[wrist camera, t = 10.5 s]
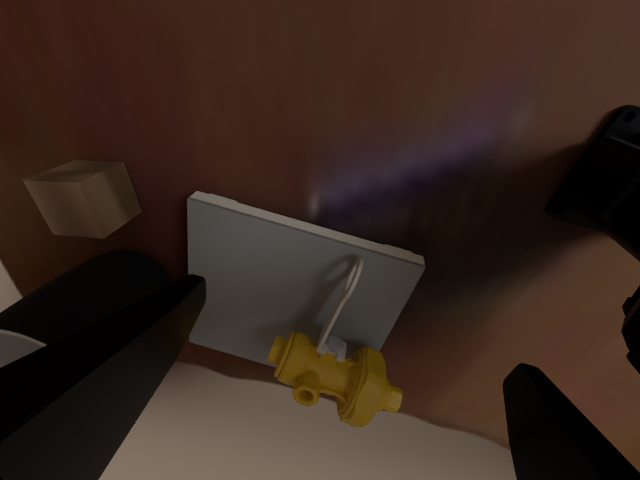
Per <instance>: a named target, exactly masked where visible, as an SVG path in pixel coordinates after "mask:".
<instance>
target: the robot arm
mask: <svg viewBox="0 0 640 480" xmlns="http://www.w3.org/2000/svg"><path fill="white" fill-rule="evenodd" d="M629 112H630V116H629V117H628V118H627V119H626V120H623V118H624V116H625V115H626V114H627V113H629ZM556 207H559V209H558V210H556V211H553V210H554V208H556ZM545 211H546V212H547V214H548V215H549V216H551V217H553V218H556V219H560V220H563V221H567V222H570V223H574V224H577V225H581V226H584V227H588V228H591V229H595V230H598V231H602V232H605V233H606V234H607V235H609V236H610V237H611V238H612V239H613V240H614V241H616V242H617V243H618V244H619V245H620V246H622V247H623V248H624V249H625V250H626V251H628V252H629V253H630V254H631V255H632V256H634V257H635V258H636V259H637V260H638V261H639V262H640V107H637V106H633V105H626V106H623V107H621V108H619V109H618V110H617V111H616V112H615V113H614V115H613V116H612V117H611V119H610V120H609V121H608V123H607V124H606V125H605V127H604V128H603V130H602V131H601V132H600V134H599V135H598V136H597V138H596V139H595V140H594V142H593V143H591V144H590V145H589V146H588V148H587V149H586V150H585V152H584V153H583V154H582V156H581V157H580V159H579V160H578V161H577V163H576V164H575V165H574V167H573V168H572V169H571V171H570V172H569V174H568V175H567V176H566V178H565V179H564V180H563V182H562V184H561V187H560V188H559V189H558V191H557V192H556V193H555V195H554V196H553V197H552V199H551V200H550V202H549V203H548V204H547V206H546V208H545ZM205 302H206V279H205V278H204V277H203V276H199V275H195V274H189V275H187V276H185V277H183V278H181V279H179V280H177V281H175V282H173V283H171V284H169V285H167V286H165V287H163V288H161V289H159V290H157V291H155V292H153V293H151V294H149V295H147V296H145V297H143V298H141V299H139V300H137V301H135V302H133V303H131V304H129V305H127V306H125V307H123V308H121V309H119V310H117V311H114V312H112V313H110V314H108V315H106V316H104V317H102V318H100V319H98V320H96V321H94V322H92V323H90V324H88V325H86V326H84V327H82V328H80V329H78V330H76V331H74V332H72V333H70V334H68V335H66V336H64V337H62V338H60V339H58V340H56V341H54V342H53V343H52V345H51V344H48V345H46V346H44V347H42V348H40V349H38V350H36V351H34V352H32V353H30V354H28V355H26V356H24V357H21V358H19V359H17V360H15V361H13V362H11V363H9V364H7V365H5V366H3V367H1V368H0V480H98V479H99V478H100V476H101V475H102V473H103V472H104V470H105V468H106V467H107V465H108V464H109V462H110V461H111V459H112V458H113V456H114V455H115V453H116V451H117V450H118V448H119V447H120V445H121V444H122V442H123V441H124V439H125V438H126V436H127V435H128V433H129V431H130V430H131V428H132V427H133V425H134V424H135V422H136V421H137V419H138V418H139V416H140V414H141V413H142V411H143V410H144V408H145V407H146V405H147V404H148V402H149V400H150V399H151V397H152V396H153V394H154V393H155V391H156V390H157V388H158V387H159V385H160V384H161V382H162V380H163V379H164V377H165V376H166V374H167V373H168V371H169V370H170V368H171V367H172V365H173V363H174V362H175V360H176V359H177V357H178V355H179V354H180V352H181V350H182V348H183V347H184V345H185V343H186V341H187V339H188V337H189V335H190V333H191V331H192V329H193V327H194V325H195V323H196V321H197V319H198V317H199V315H200V313H201V311H202V309H203V307H204V305H205ZM622 308H623V311H624V314H625V318H624V322H623V326H622V330H621V331H622V334H623V337H624V340H625V342H626V345H627V348H628V349H629V352H628V354H627V356H626V357H627V359H628V361H629V362H630V363H631V364H632V365H633V367H634V368H635V369H636V370H637V371H638V373H639V374H640V286H639V287H638V289H637V290H636V292H635V293H634V294H633V296H632V297H629V298H627V300H626V301H625V303H624V304H623V305H622ZM503 394H504V403H505V412H506V420H507V429H508V437H509V444H510V449H511V454H512V459H513V463H514V468H515V473H516V478H517V480H640V473H639V472H638V471H637V470H636V469H635V468H634V467H633V466H632V464H631V463H630V462H629V461H628V460H627V459H626V458H625V457H624V456H623V455H622V454H621V453H620V452H619V451H618V450H617V449H616V448H615V447H614V446H613V445H612V444H611V443H610V442H609V441H608V440H607V439H606V437H605V436H604V435H603V434H602V433H601V432H600V431H599V430H598V429H597V428H596V427H595V426H594V425H593V424H592V423H591V422H590V421H589V420H588V419H587V418H586V417H585V416H584V415H583V414H582V413H581V412H580V411H579V409H578V408H577V407H576V406H575V405H574V404H573V403H572V402H571V401H570V400H569V399H568V398H567V397H566V396H565V395H564V394H563V393H562V392H561V391H560V390H559V389H558V388H557V387H556V386H555V385H554V384H553V382H552V381H551V380H550V379H549V378H548V377H547V376H546V375H545V374H544V373H543V372H542V371H541V370H540V369H539V368H537V367H535V366H532V365H528V364H524V363H521V364H518V365H517V366H516V367H515V368H514V369H513V370H512V371H511V373H510V374H509V375H508V376H507V377H506V378H505V379H504V382H503Z"/></svg>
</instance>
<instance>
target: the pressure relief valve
mask: <svg viewBox="0 0 640 480" xmlns="http://www.w3.org/2000/svg"><path fill="white" fill-rule="evenodd" d="M363 262H364V258H362V257H358V258H357V260H356V261H355V263H354V265H353V267H352V269H351V271H350V273H349V275H348V278H347V280H346V283H345V285H344V288H343V290H342V292H341V294H340V296H339V298H338V300H337V302H336V304H335V306H334V308H333V310H332V311H331V313H330V315H329V317H328V319H327V321H326V323H325V325H324V327H323V329H322V331H321V333H320V339H319V340H318V341H317V345H316V344H315V343H314V341H313V339H312V338H311V337H309V336H308V335H307V334H304V333H302V332H300V331H299V332H296V333H295V332H291V333H290V335H289V337H288V339H285V338H282V337H280V336H276V339H275V341H274V343H273V346H272V348H271V351H270V353H269V355H268V358H267V360H266V361H267V362H269V363H271V364H274V365H276V369H275V372H274V376H275V377H278V378H277V379H278V380H279V381H280V382H282V383H285V384H287V385H292V386H294V387H293V391H292V393H293V397H294V400H295V401H296V402H298V403H300V404H302V405H305V406H310V405H313V404H315V403H317V402H318V400H319V395H320V393H321V392H322V393H325V394H327V395H334V396H336V397H337V412H338V415H339V417H340V421H342V422H345V423H347V424H349V425H351V426H354V427H362V426H365V425H367V424H368V423H369V422H370V421H371V420H372V418H373V417H374V415H375V413H376V411H380V410H382V408H383V409H385V410H387V411H390V412H392V413H395V412H396V411H398V409H399V407H400V404H401V401H402V391H401V389H400V388H399V387H396V386H394V385H392V384H389V381H388V379H387V378H386V365H385V361H384V359H383V356H382V353H381V352H380V351H378V350H375V349H373V348H370V347H368V346H366V347H363V348H360V349H358V350H357V351H356V352H355V353H354V354H353V355H352V356H351V358H350V359H349V358H348V359H345V354H346V346H347V345H346V343H345V342H344V341H342V340H341V339H340V338H339V337H337V336H330V335H328V334H329V332H330V330H331V328H332V326H333V324H334V322H335V321H336V319H337V317H338V315H339V313H340V311H341V309H342V307H343V305H344V303H345V302H346V301H347V300H348V298H349V297H350V296H351V294H352V292H353V290H354V288H355V286H356V284H357V282H358V279H359V276H360V274H361V271H362V267H363ZM355 271H356V272H355ZM354 273H355V275H354ZM353 275H354V277H353ZM352 277H353V280H352ZM351 280H352V282H351ZM350 283H351V284H350Z"/></svg>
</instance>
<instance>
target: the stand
mask: <svg viewBox="0 0 640 480" xmlns="http://www.w3.org/2000/svg"><path fill="white" fill-rule="evenodd" d="M187 225H188V275H189V274H195V275H199V276H203V277H204V278H205V279H206V302H205V305H204V307H203V309H202V311H201V313H200V315H199V317H198V319H197V321H196V323H195V325H194V327H193V329H192V331H191V333H190V335H189V342H191V343H195V344H198V345H201V346H205V347H208V348H212V349H215V350H218V351H222V352H225V353H229V354H232V355H235V356H239V357H242V358H246V359H249V360H252V361H256V362H259V363H262V364H266V365H269V366H273V367H276V365H274V364H271V363H269V362H267V361H266V360H267V358H268V355H269V353H270V351H271V348H272V346H273V343H274V341H275V339H276V336H280V337H282V338H285V339H288V337H289V335H290V333H291V332H295V333H296V332H299V331H300V332H302V333H304V334H307V335H308V336H309V337H311V338H312V339H313V341H314V343H315V344H316V345H317V341H318V340H319V339H320V333H321V331H322V329H323V327H324V325H325V323H326V321H327V319H328V317H329V315H330V313H331V311H332V310H333V308H334V306H335V304H336V302H337V300H338V298H339V296H340V294H341V292H342V290H343V288H344V285H345V283H346V280H347V278H348V275H349V273H350V271H351V269H352V267H353V265H354V263H355V261H356V260H357V258H358V257H362V258H364V262H363V267H362V271H361V274H360V276H359V279H358V282H357V284H356V286H355V288H354V290H353V292H352V294H351V296H350V297H349V298H348V300H347V301H346V302H345V303H344V305H343V307H342V309H341V311H340V313H339V315H338V317H337V319H336V321H335V322H334V324H333V326H332V328H331V330H330V332H329V334H328V335H330V336H337V337H339V338H340V339H341V340H342V341H344V342H345V343H346V345H347V346H346V354H345V359H348V358H349V359H350V358H351V356H352V355H353V354H354V353H355V352H356V351H357V350H358V349H360V348H363V347H366V346H368V347H370V348H373V349H375V350H378V351H380V349H381V347H382V346H383V344H384V342H385V340H386V338H387V337H388V335H389V333H390V331H391V329H392V328H393V326H394V324H395V322H396V320H397V319H398V317H399V315H400V313H401V311H402V310H403V308H404V306H405V304H406V302H407V301H408V299H409V297H410V295H411V293H412V292H413V290H414V288H415V286H416V284H417V283H418V281H419V279H420V277H421V275H422V274H423V272H424V270H425V268H426V267H425V263H424V258H423V256H420V255H417V254H413V253H412V252H411V251H408V250H404V249H401V248H397V247H394V246H390V245H387V244H385V245H382V244H379V243H375V242H372V241H369V240H365V239H362V238H358V237H355V236H351V235H348V234H344V233H341V232H337V231H334V230H331V229H327V228H324V227H320V226H317V225H313V224H310V223H306V222H303V221H299V220H296V219H293V218H289V217H286V216H282V215H279V214H275V213H272V212H268V211H265V210H261V209H258V208H255V207H251V206H248V205H244V204H241V203H237V201H235V200H232V199H228V198H225V197H221V196H218V195H214V194H211V193H210V194H206V193H203V192H199V191H196V192H195V193H194V194H193V195H191V196H190V197H189V198H188V199H187ZM355 272H356V271H355ZM354 275H355V273H354ZM354 275H353V277H354ZM353 277H352V280H353ZM352 280H351V282H352ZM350 284H351V283H350Z"/></svg>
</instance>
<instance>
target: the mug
mask: <svg viewBox="0 0 640 480" xmlns="http://www.w3.org/2000/svg"><path fill="white" fill-rule="evenodd" d="M171 283H172V282H171V279H170V277H169V275H168V274H167V272H166V271H165V270H164V269H163V268H162V267H161V266H160V265H159V264H158V263H157V262H156V261H154V260H153V259H151V258H150V257H148V256H146V255H144V254H141V253H138V252H135V251H130V250H119V251H113V252H109V253H105V254H103V255H100V256H98V257H95V258H93V259H91V260H89V261H86V262H84V263H82V264H81V265H79V266H77V267H75V268H73V269H71V270H69V271H67V272H66V273H64V274H62V275H60V276H59V277H57V278H55V279H53V280H52V281H50V282H48V283H47V284H45V285H43V286H42V287H40V288H38V289H37V290H35V291H33V292H32V293H30V294H29V295H27V296H25V297H24V298H22V299H21V300H19V301H18V302H16V303H15V304H13V305H11V306H10V307H8V308H7V309H6V310H4V311H2V312H1V313H0V368H1V367H3V366H5V365H7V364H9V363H11V362H13V361H15V360H17V359H19V358H21V357H24V356H26V355H28V354H30V353H32V352H34V351H36V350H38V349H40V348H42V347H44V346H46V345H48V344H51V345H52V343H53V342H54V341H56V340H58V339H60V338H62V337H64V336H66V335H68V334H70V333H72V332H74V331H76V330H78V329H80V328H82V327H84V326H86V325H88V324H90V323H92V322H94V321H96V320H98V319H100V318H102V317H104V316H106V315H108V314H110V313H112V312H114V311H117V310H119V309H121V308H123V307H125V306H127V305H129V304H131V303H133V302H135V301H137V300H139V299H141V298H143V297H145V296H147V295H149V294H151V293H153V292H155V291H157V290H159V289H161V288H163V287H165V286H167V285H169V284H171Z"/></svg>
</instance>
